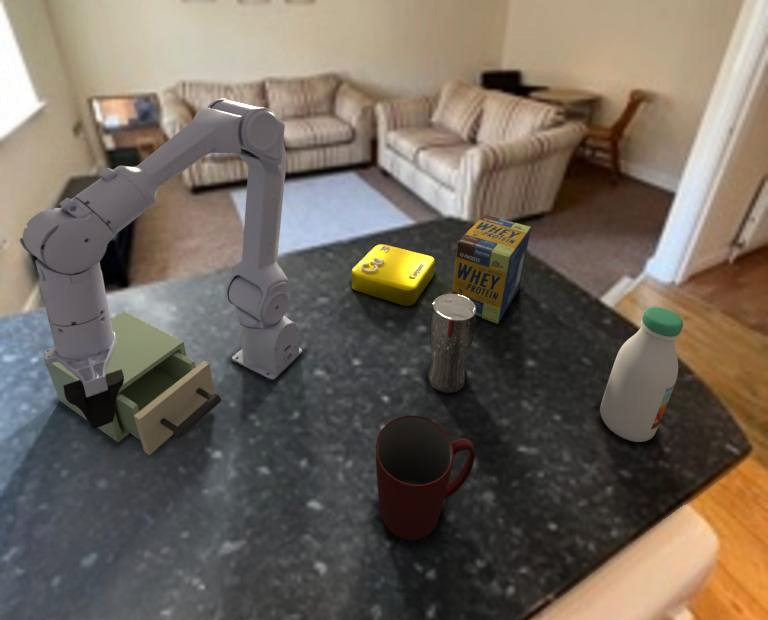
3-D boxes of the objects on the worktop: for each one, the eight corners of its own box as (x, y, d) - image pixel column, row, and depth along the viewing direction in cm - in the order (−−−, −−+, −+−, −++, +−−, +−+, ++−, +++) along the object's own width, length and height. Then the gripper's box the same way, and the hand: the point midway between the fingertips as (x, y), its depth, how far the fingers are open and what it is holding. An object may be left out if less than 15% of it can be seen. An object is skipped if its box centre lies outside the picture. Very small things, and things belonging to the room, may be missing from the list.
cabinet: (192, 382, 73) (183, 341, 69) (118, 442, 63) (103, 398, 59) (135, 350, 79) (124, 311, 75) (59, 400, 69) (43, 357, 65)
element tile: (411, 309, 92) (413, 289, 90) (348, 289, 97) (347, 270, 95) (436, 273, 104) (437, 255, 102) (378, 257, 110) (378, 240, 108)
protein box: (449, 307, 93) (456, 241, 86) (476, 272, 105) (484, 213, 98) (498, 325, 88) (509, 257, 81) (521, 287, 100) (532, 225, 93)
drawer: (235, 407, 68) (230, 374, 65) (170, 470, 58) (160, 434, 56) (158, 364, 75) (150, 332, 72) (90, 413, 66) (77, 379, 63)
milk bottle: (632, 452, 63) (675, 342, 55) (587, 411, 70) (619, 307, 61) (666, 431, 67) (710, 324, 58) (620, 394, 73) (655, 293, 64)
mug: (454, 464, 61) (462, 406, 56) (480, 532, 53) (492, 471, 49) (368, 481, 59) (369, 421, 54) (382, 555, 51) (385, 493, 46)
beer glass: (471, 371, 76) (482, 300, 70) (460, 401, 71) (470, 326, 64) (433, 358, 79) (440, 288, 73) (419, 386, 73) (425, 312, 67)
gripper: (32, 291, 54) (54, 380, 59) (38, 360, 43) (65, 461, 48) (100, 276, 58) (116, 360, 63) (121, 336, 48) (137, 431, 53)
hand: (98, 402), depth 56 cm, fingers open, 7 cm apart
